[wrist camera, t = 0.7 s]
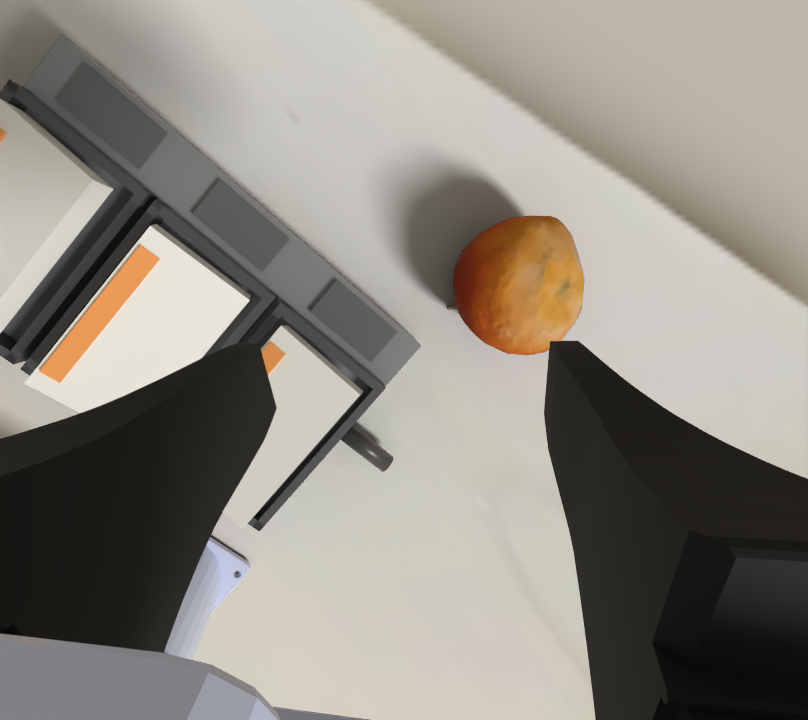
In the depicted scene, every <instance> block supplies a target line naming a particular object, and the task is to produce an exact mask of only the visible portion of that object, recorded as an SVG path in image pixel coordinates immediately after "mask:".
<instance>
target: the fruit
mask: <svg viewBox="0 0 808 720" xmlns="http://www.w3.org/2000/svg"><path fill="white" fill-rule="evenodd" d="M462 251H463V252H462V254H461V256H460V258H459V259H458V261H457V264H456V266H455V269H454V277H453V288H454V295H455V305H453V306H450V307H448V310H450V309H455V308H457V309H458V312H459V314H460V316H461V318H462V319H463V321H464V322H465V324H466V325H467V326H468V327H469V329H470V330H471V331H472V332H473V333H474V334H475V335H476V336H477V337H478V338H479V339H481V340H482V341H483V342H484V343H486V344H488V345H490V346H493V347H495V348H497V349H499V350H501V351H503V352H505V353H508V354H518V355H533V354H537V353H543V352H546V351H547V350H549V348H550V341H561V340H562V339H563V338H564V336H565V335H566V333H567V332H568V331H569V330H570V328H571V327H572V326H573V325H574V324H575V322H576V320H577V319H578V316H579V313H580V311H581V309H582V301H583V290H584V274H583V270H582V266H581V263H580V259H579V255H578V252H577V249H576V246H575V243H574V240H573V237H572V235H571V233H570V232H569V231H568V230H567V228H566V227H565V225H564V224H563V223H562V222H561V221H560V220H558V219H557V218H554V217H551V216H525V217H517V218H510V219H508V220H505V221H503V222H501V223H499V224H497V225H494V226H492V227H490V228H489V229H487V230H485V231H483V232H482V233H480V234H479V235H478V236H477V237H476V238H475V239H474V240H473V241H472V242H471V243H470V244H469V245H468V246H466V248H465V249H464V250H462Z"/></svg>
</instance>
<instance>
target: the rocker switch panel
mask: <svg viewBox="0 0 808 720" xmlns="http://www.w3.org/2000/svg"><path fill="white" fill-rule="evenodd" d="M0 99H2V100H4V101H6V102H7V103H9V104H11V105H13V106H15V107H17V108H18V109H20V110H22V111H24V112H26V113H27V114H28V115H29V116H31V117H32V118H33V119H34V120H35V121H36V122H37V123H39V124H40V125H41V126H42V127H43V128H44V129H45V130H47V131H48V132H49V133H50V134H51V135H52V136H53V137H55V138H56V139H57V140H58V141H59V142H60V143H61V144H63V145H64V146H65V147H66V148H67V149H68V150H69V151H71V152H72V153H73V154H74V155H75V156H76V157H77V158H79V159H80V160H81V161H82V162H83V163H84V164H85V165H87V166H88V167H89V168H90V169H91V170H92V171H93V172H95V173H96V174H97V175H98V176H99V177H100V178H101V179H102V180H104V181H105V182H106V183H107V184H108V185H109V186H110V187H112V188H113V191H112V192H111V193H110V194H109V196H108V197H107V198H106V199H105V201H104V202H103V203H102V205H101V206H100V207H99V208H98V210H97V211H96V212H95V214H94V215H93V216H92V217H91V219H90V220H89V221H88V222H87V224H86V225H85V226H84V228H83V229H82V230H81V231H80V233H79V234H78V235H77V236H76V238H75V239H74V240H73V242H72V243H71V244H70V245H69V247H68V248H67V249H66V251H65V252H64V253H63V254H62V256H61V257H60V258H59V259H58V261H57V262H56V263H55V265H54V266H53V267H52V268H51V270H50V271H49V272H48V273H47V275H46V276H45V277H44V279H43V280H42V281H41V282H40V284H39V285H38V286H37V287H36V289H35V290H34V291H33V293H32V294H31V295H30V296H29V298H28V299H27V300H26V302H25V303H24V304H23V305H22V307H21V308H20V309H19V310H18V312H17V313H16V314H15V316H14V317H13V318H12V319H11V321H10V322H9V323H8V324H7V326H6V327H5V328H4V330H3V331H2V332H1V333H0V356H2V357H3V358H5V359H6V360H8V361H9V362H11V363H12V364H16V363H19V362H23V361H25V362H26V363H25V364H24V365H23V366H22V368H21V370H22V371H24V372H25V373H27V374H28V375H31V374H32V373H33V372H34V370H35V369H36V368H37V367H38V365H39V364H40V363H41V362H42V360H43V359H44V358H45V357H46V355H47V354H48V353H49V352H50V350H51V349H52V348H53V347H54V345H55V344H56V343H57V342H58V340H59V339H60V338H61V337H62V335H63V334H64V333H65V332H66V330H67V329H68V328H69V327H70V325H71V324H72V323H73V322H74V320H75V319H76V318H77V317H78V315H79V314H80V313H81V312H82V310H83V309H84V308H85V307H86V305H87V304H88V303H89V302H90V300H91V299H92V298H93V297H94V295H95V294H96V293H97V292H98V290H99V289H100V288H101V287H102V285H103V284H104V283H105V282H106V280H107V279H108V278H109V276H110V275H111V274H112V273H113V271H114V270H115V269H116V268H117V266H118V265H119V264H120V263H121V261H122V260H123V259H124V258H125V256H126V255H127V254H128V253H129V251H130V250H131V249H132V248H133V246H134V245H135V244H136V243H137V241H138V240H139V239H140V238H141V236H142V235H143V234H144V233H145V231H146V230H147V229H148V228H149V226H151V225H155V224H157V225H159V226H160V227H161V228H163V229H164V230H165V231H167V232H168V233H169V234H171V235H172V236H173V237H175V238H176V239H177V240H178V241H180V242H181V243H182V244H184V245H185V246H186V247H188V248H189V249H190V250H192V251H193V252H194V253H196V254H197V255H198V256H200V257H201V258H202V259H204V260H205V261H206V262H208V263H209V264H210V265H212V266H213V267H214V268H216V269H217V270H218V271H220V272H221V273H222V274H224V275H225V276H226V277H228V278H229V279H230V280H232V281H233V282H234V283H236V284H237V285H238V286H239V287H241V288H242V289H243V290H245V291H246V292H247V293H249V294H250V295H251V297H250V301H249V302H248V303H247V304H246V306H245V307H244V308H243V309H242V310H241V312H240V313H239V314H238V315H237V316H236V318H235V319H234V320H233V321H232V322H231V324H230V325H229V326H228V327H227V328H226V330H225V331H224V332H223V333H222V334H221V336H220V337H219V338H218V339H217V340H216V342H215V343H214V344H213V345H212V346H211V348H210V349H209V350H208V351H207V352H206V354H205V355H204V356H203V357H206V356H208V355H210V354H212V353H214V352H216V351H218V350H221V349H223V348H225V347H228V346H231V345H234V344H237V343H259V345H260V349H261V348H262V347H263V346H264V345H265V344H266V343H267V341H268V340H269V339H270V338H271V337H272V335H273V334H274V333H275V332H276V331H277V330H278V328H279V327H280V326H281V325H282V326H290V327H291V328H292V329H293V330H294V331H295V332H296V333H298V334H299V335H300V336H301V337H302V338H303V339H304V340H305V341H307V342H308V343H309V344H310V345H311V346H312V347H313V348H315V349H316V350H317V351H318V352H319V353H320V354H321V355H323V356H324V357H325V358H326V359H327V360H328V361H329V362H331V363H332V364H333V365H334V366H335V367H336V368H337V369H339V370H340V371H341V372H342V373H343V374H344V375H345V376H347V377H348V378H349V379H350V380H351V381H352V382H353V383H355V384H356V385H357V386H358V387H359V388H360V389H361V390H363V392H362V394H361V395H360V396H359V397H358V398H357V399H356V400H355V402H354V403H353V404H352V405H351V406H350V407H349V408H348V410H347V411H346V412H345V413H344V414H343V415H342V416H341V418H340V419H339V420H338V421H337V422H336V423H335V424H334V426H333V427H332V428H331V429H330V430H329V431H328V432H327V434H326V435H325V436H324V437H323V438H322V439H321V440H320V442H319V443H318V444H317V445H316V446H315V447H314V448H313V449H312V451H311V452H310V453H309V454H308V455H307V456H306V457H305V459H304V460H303V461H302V462H301V463H300V464H299V465H298V467H297V468H296V469H295V470H294V471H293V472H292V473H291V475H290V476H289V477H288V478H287V479H286V480H285V481H284V483H283V484H282V485H281V486H280V487H279V488H278V489H277V491H276V492H275V493H274V494H273V495H272V496H271V497H270V499H269V500H268V501H267V502H266V503H265V504H264V505H263V507H262V508H261V509H260V510H259V511H258V512H257V513H256V515H255V516H254V517H253V518H252V519H251V520H250V521H249V522H248V524H249V525H251V526H252V527H254V528H255V529H257V530H258V531H260V530H261V529H262V528H263V527H264V526H265V524H266V523H267V522H268V521H269V520H270V519H271V518H272V516H273V515H274V514H275V513H276V512H277V511H278V510H279V508H280V507H281V506H282V505H283V504H284V503H285V502H286V501H287V499H288V498H289V497H290V496H291V495H292V494H293V493H294V491H295V490H296V489H297V488H298V487H299V486H300V485H301V484H302V482H303V481H304V480H305V479H306V478H307V477H308V476H309V474H310V473H311V472H312V471H313V470H314V469H315V468H316V466H317V465H318V464H319V463H320V462H321V461H322V460H323V459H324V457H325V456H326V455H327V454H328V453H329V452H330V451H331V449H332V448H333V447H334V446H335V445H336V444H337V443H338V442H339V440H340V439H341V440H342V441H343V442H344V443H346V444H347V445H348V446H350V447H351V448H352V449H354V450H355V451H356V452H357V453H359V454H360V455H361V456H363V457H364V458H365V459H367V460H368V461H369V462H370V463H372V464H373V465H374V466H376V467H377V468H378V469H380V470H381V471H382V472H383V471H385V470H386V469H387V468H388V467H389V466H390V465H391V463H392V461H393V456H391V455H390V454H389V453H388V452H386V451H385V450H384V449H382V448H381V447H380V446H379V445H377V444H376V443H375V442H373V441H372V440H371V439H370V438H368V437H367V436H366V435H365V434H363V433H362V432H361V431H359V430H358V429H357V428H356V427H354V426H353V425H354V423H355V422H356V421H357V420H358V419H359V418H360V417H361V415H362V414H363V413H364V412H365V411H366V410H367V409H368V407H369V406H370V405H371V404H372V403H373V402H374V401H375V400H376V398H377V397H378V396H379V395H380V394H381V393H382V392H383V390H384V389H385V386H386V385H387V384H388V383H389V382H390V381H391V379H392V378H393V377H394V376H395V375H396V374H397V373H398V371H399V370H400V369H401V368H402V367H403V366H404V365H405V364H406V362H407V361H408V360H409V359H410V358H411V357H412V356H413V354H414V353H415V352H416V351H417V350H418V349H419V348H420V346H421V345H420V344H419V343H418V342H417V341H416V339H415V338H414V337H412V336H411V335H410V334H409V333H408V332H407V331H406V330H404V329H403V328H402V327H401V326H400V325H399V324H397V323H396V322H395V321H394V320H393V319H392V318H391V317H389V316H388V315H387V314H386V313H385V312H384V311H383V310H381V309H380V308H379V307H378V306H377V305H376V304H374V303H373V302H372V301H371V300H370V299H369V298H368V297H366V296H365V295H364V294H363V293H362V292H361V291H360V290H358V289H357V288H356V287H355V286H354V285H353V284H351V283H350V282H349V281H348V280H347V279H346V278H345V277H343V276H342V275H341V274H340V273H339V272H338V271H336V270H335V269H334V268H333V267H332V266H331V265H330V264H328V263H327V262H326V261H325V260H324V259H323V258H322V257H320V256H319V255H318V254H317V253H316V252H315V251H313V250H312V249H311V248H310V247H309V246H308V245H307V244H305V243H304V242H303V241H302V240H301V239H300V238H299V237H297V236H296V235H295V234H294V233H293V232H292V231H290V230H289V229H288V228H287V227H286V226H285V225H284V224H282V223H281V222H280V221H279V220H278V219H277V218H275V217H274V216H273V215H272V214H271V213H270V212H269V211H267V210H266V209H265V208H264V207H263V206H262V205H261V204H259V203H258V202H257V201H256V200H255V199H254V198H252V197H251V196H250V195H249V194H248V193H247V192H246V191H244V190H243V189H242V188H241V187H240V186H239V185H237V184H236V183H235V182H234V181H233V180H232V179H231V178H229V177H228V176H227V175H226V174H225V173H224V172H223V171H221V170H220V169H219V168H218V167H217V166H216V165H214V164H213V163H212V162H211V161H210V160H209V159H208V158H206V157H205V156H204V155H203V154H202V153H201V152H200V151H198V150H197V149H196V148H195V147H194V146H193V145H191V144H190V143H189V142H188V141H187V140H186V139H185V138H183V137H182V136H181V135H180V134H179V133H178V132H176V131H175V130H174V129H173V128H172V127H171V126H170V125H168V124H167V123H166V122H165V121H164V120H163V119H162V118H160V117H159V116H158V115H157V114H156V113H155V112H153V111H152V110H151V109H150V108H149V107H148V106H147V105H145V104H144V103H143V102H142V101H141V100H140V99H139V98H137V97H136V96H135V95H134V94H133V93H132V92H130V91H129V90H128V89H127V88H126V87H125V86H124V85H122V84H121V83H120V82H119V81H118V80H117V79H115V78H114V77H113V76H112V75H111V74H110V73H109V72H107V71H106V70H105V69H104V68H103V67H102V66H101V65H99V64H98V63H97V62H96V61H95V60H94V59H92V58H91V57H90V56H89V55H87V54H86V53H85V52H84V51H82V50H81V49H80V48H79V47H77V46H76V45H75V44H74V43H72V42H71V41H70V40H69V39H67V38H66V37H65V36H64V35H61V36H60V37H59V39H58V40H57V41H56V43H55V44H54V45H53V47H52V48H51V49H50V51H49V52H48V53H47V55H46V56H45V57H44V59H43V60H42V61H41V63H40V64H39V65H38V67H37V68H36V69H35V71H34V72H33V73H32V75H31V76H30V77H29V79H28V80H27V81H26V83H25V84H24V85H23V87H22V86H21V85H19V84H17V83H15V82H13V81H11V80H9V81H8V82H7V84H6V85H5V86H4V88H3V89H2V90H1V92H0ZM203 357H202V358H203Z"/></svg>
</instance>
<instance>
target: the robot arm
mask: <svg viewBox="0 0 808 720" xmlns="http://www.w3.org/2000/svg"><path fill="white" fill-rule="evenodd" d="M276 409H277V407H276V403H275V400H274V396H273V392H272V389H271V385H270V381H269V378H268V374H267V370H266V367H265V363H264V360H263V356H262V352H261V349H260V345H259V343H237V344H234V345H231V346H228V347H225V348H223V349H221V350H218V351H216V352H214V353H212V354H210V355H208V356H206V357H203V358H201V359H199V360H197V361H195V362H193V363H191V364H189V365H187V366H185V367H183V368H181V369H179V370H177V371H175V372H173V373H171V374H169V375H167V376H165V377H163V378H161V379H159V380H157V381H155V382H152V383H150V384H148V385H146V386H144V387H142V388H140V389H137V390H135V391H133V392H131V393H129V394H127V395H125V396H122V397H120V398H118V399H115V400H113V401H111V402H108V403H106V404H103V405H101V406H98V407H96V408H93V409H90V410H88V411H85V412H82V413H80V414H77V415H75V416H72V417H69V418H66V419H63V420H60V421H57V422H54V423H51V424H47V425H44V426H41V427H38V428H35V429H32V430H29V431H26V432H22V433H19V434H16V435H13V436H9V437H5V438H2V439H0V720H368V719H360V718H353V717H345V716H338V715H330V714H323V713H315V712H308V711H300V710H293V709H286V708H278V707H272V706H271V705H270V704H269V703H268V702H267V701H266V700H265V699H264V697H263V696H262V695H261V694H260V693H259V692H258V691H257V690H256V689H255V688H254V687H253V686H251V685H249V684H247V683H245V682H243V681H241V680H239V679H237V678H236V677H234V676H232V675H230V674H228V673H226V672H224V671H222V670H221V669H219V668H217V667H215V666H213V665H210V664H206V663H202V662H198V661H194V660H193V657H194V655H195V652H196V650H197V647H198V645H199V642H200V640H201V637H202V635H203V632H204V630H205V627H206V625H207V622H208V620H209V617H210V615H211V614H212V613H213V611H214V610H215V609H216V608H217V607H218V606H219V605H220V604H221V602H222V601H223V600H224V599H225V598H226V597H227V596H228V595H229V593H230V592H231V591H232V590H233V589H234V588H235V587H236V586H237V584H238V583H239V582H240V581H241V580H242V579H243V578H244V577H245V575H246V574H247V573H248V572H249V569H250V564H249V562H248V561H246V560H245V559H243V558H242V557H240V556H239V555H237V554H236V553H234V552H233V551H231V550H230V549H228V548H226V547H225V546H223V545H222V544H220V543H219V542H217V541H216V540H214V539H213V538H211V537H210V536H211V534H212V532H213V529H214V527H215V525H216V523H217V521H218V520H219V518H220V516H221V514H222V512H223V510H224V508H225V507H226V505H227V503H228V502H229V500H230V498H231V497H232V495H233V493H234V492H235V490H236V488H237V486H238V485H239V483H240V481H241V480H242V478H243V476H244V475H245V473H246V471H247V470H248V468H249V466H250V464H251V463H252V461H253V459H254V457H255V456H256V454H257V452H258V450H259V449H260V447H261V445H262V443H263V442H264V440H265V437H266V435H267V432H268V430H269V428H270V425H271V423H272V420H273V417H274V414H275V412H276ZM544 416H545V425H546V434H547V442H548V449H549V453H550V457H551V461H552V465H553V469H554V473H555V477H556V481H557V485H558V489H559V493H560V496H561V500H562V504H563V508H564V512H565V516H566V519H567V523H568V527H569V531H570V536H571V541H572V545H573V550H574V557H575V564H576V570H577V577H578V584H579V591H580V598H581V605H582V613H583V620H584V627H585V635H586V642H587V650H588V658H589V667H590V675H591V683H592V691H593V699H594V708H595V718H596V720H808V479H806V478H804V477H801V476H799V475H796V474H794V473H791V472H789V471H786V470H784V469H782V468H779V467H777V466H775V465H772V464H770V463H767V462H765V461H763V460H761V459H758V458H756V457H754V456H752V455H750V454H748V453H746V452H744V451H742V450H739V449H737V448H735V447H733V446H731V445H729V444H727V443H725V442H723V441H721V440H719V439H717V438H715V437H713V436H711V435H709V434H707V433H706V432H704V431H702V430H700V429H699V428H697V427H695V426H693V425H692V424H690V423H688V422H686V421H685V420H683V419H681V418H679V417H678V416H676V415H674V414H673V413H671V412H670V411H668V410H667V409H665V408H663V407H662V406H660V405H659V404H658V403H656V402H655V401H653V400H652V399H650V398H649V397H647V396H646V395H645V394H643V393H642V392H640V391H639V390H638V389H636V388H635V387H634V386H632V385H631V384H630V383H628V382H627V381H626V380H624V379H623V378H622V377H621V376H619V375H618V374H617V373H616V372H614V371H613V370H612V369H611V368H610V367H608V366H607V365H606V364H605V363H604V362H602V361H601V360H600V359H599V358H598V357H597V356H595V355H594V354H593V353H592V352H591V351H590V350H588V349H587V348H586V347H585V346H584V345H582V344H581V343H580V342H579V341H550V348H549V360H548V372H547V384H546V397H545V409H544ZM236 571H239V572H240V573H241V574H236V573H235V572H236Z"/></svg>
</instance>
